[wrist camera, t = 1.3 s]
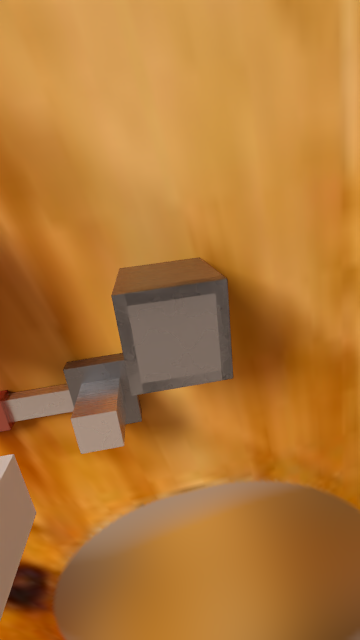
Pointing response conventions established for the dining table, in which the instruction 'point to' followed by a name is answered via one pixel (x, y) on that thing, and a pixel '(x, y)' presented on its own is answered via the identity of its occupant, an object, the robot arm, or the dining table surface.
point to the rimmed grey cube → (173, 325)
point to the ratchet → (82, 402)
